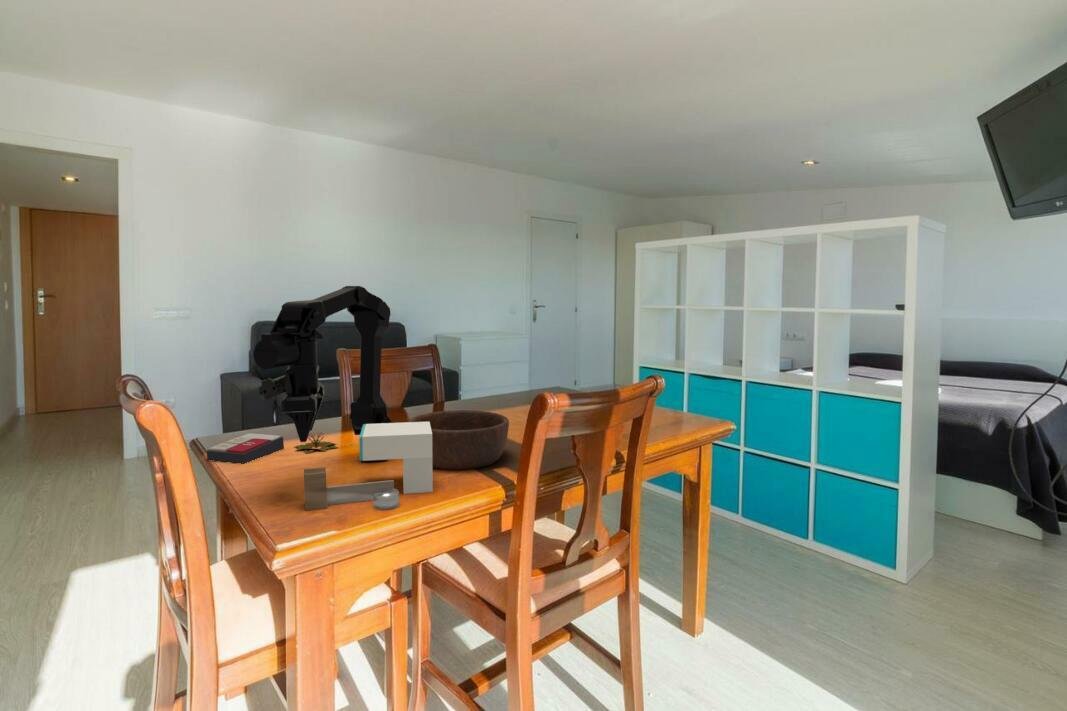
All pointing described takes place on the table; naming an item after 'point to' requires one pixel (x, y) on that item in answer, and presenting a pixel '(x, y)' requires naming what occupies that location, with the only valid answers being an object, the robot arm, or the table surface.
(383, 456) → the l-shaped block
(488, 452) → the wooden bowl
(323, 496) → the grey mallet
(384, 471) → the table surface
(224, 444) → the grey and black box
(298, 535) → the table surface
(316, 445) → the lily flower
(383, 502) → the steel puck
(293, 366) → the robot arm
